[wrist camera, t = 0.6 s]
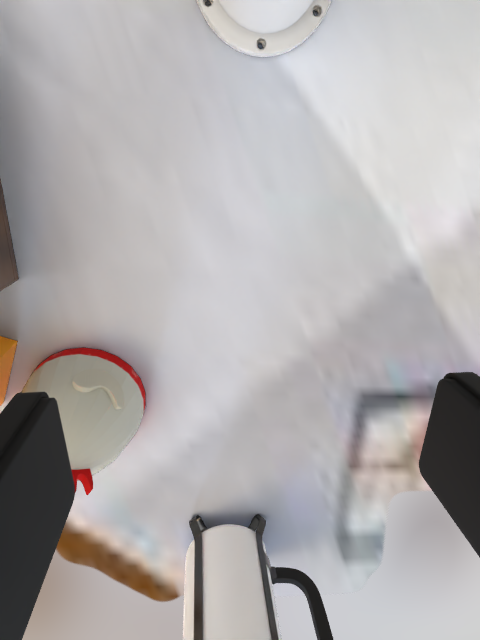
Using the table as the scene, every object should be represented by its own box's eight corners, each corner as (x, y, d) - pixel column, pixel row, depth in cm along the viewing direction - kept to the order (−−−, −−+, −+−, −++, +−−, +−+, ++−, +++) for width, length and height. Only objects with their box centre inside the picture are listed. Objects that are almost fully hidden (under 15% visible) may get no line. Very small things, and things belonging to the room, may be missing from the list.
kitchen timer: (63, 326, 43) (-2, 403, 29) (166, 383, 47) (153, 474, 33) (8, 412, 46) (-72, 517, 33) (109, 458, 51) (76, 569, 37)
